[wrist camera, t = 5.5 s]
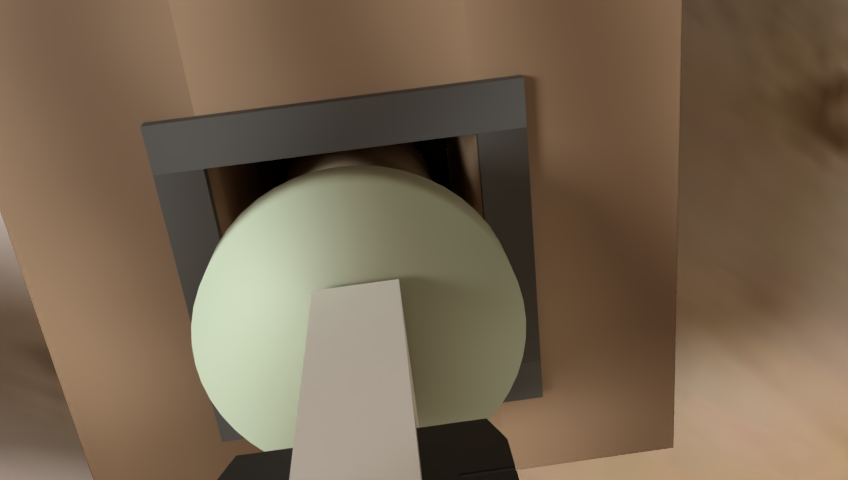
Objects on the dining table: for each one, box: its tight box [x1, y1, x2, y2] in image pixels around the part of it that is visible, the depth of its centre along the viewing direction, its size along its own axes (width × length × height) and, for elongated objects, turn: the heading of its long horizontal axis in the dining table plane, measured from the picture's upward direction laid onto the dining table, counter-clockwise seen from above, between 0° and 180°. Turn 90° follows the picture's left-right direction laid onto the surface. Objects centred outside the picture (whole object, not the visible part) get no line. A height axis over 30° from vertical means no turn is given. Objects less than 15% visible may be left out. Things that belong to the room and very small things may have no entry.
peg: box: [191, 142, 526, 452], centre depth 18 cm, size 6×6×8 cm
